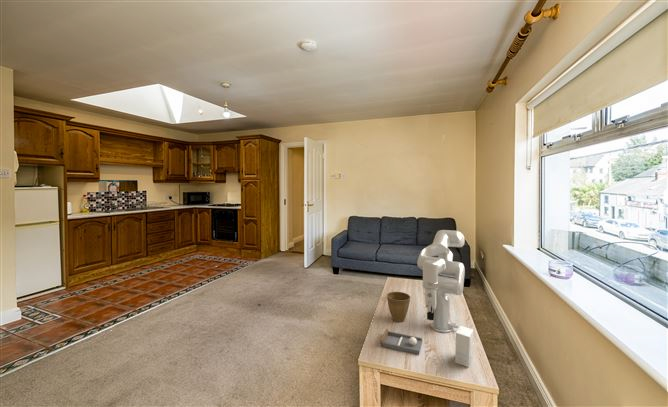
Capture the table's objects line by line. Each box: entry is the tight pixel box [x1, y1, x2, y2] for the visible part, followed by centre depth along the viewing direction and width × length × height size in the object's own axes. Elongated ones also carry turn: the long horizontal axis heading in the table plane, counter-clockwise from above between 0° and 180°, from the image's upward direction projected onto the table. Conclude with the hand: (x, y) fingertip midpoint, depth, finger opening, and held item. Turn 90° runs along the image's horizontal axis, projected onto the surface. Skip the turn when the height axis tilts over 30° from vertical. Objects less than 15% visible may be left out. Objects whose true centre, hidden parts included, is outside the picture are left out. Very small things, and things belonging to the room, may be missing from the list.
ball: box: [409, 337, 417, 345], centre depth 146 cm, size 4×4×4 cm
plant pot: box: [386, 291, 411, 323], centre depth 175 cm, size 15×15×16 cm
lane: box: [380, 328, 423, 356], centre depth 148 cm, size 20×13×4 cm, turn 65°
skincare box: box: [454, 325, 474, 368], centre depth 132 cm, size 8×7×16 cm
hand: (430, 318), depth 141 cm, fingers closed
